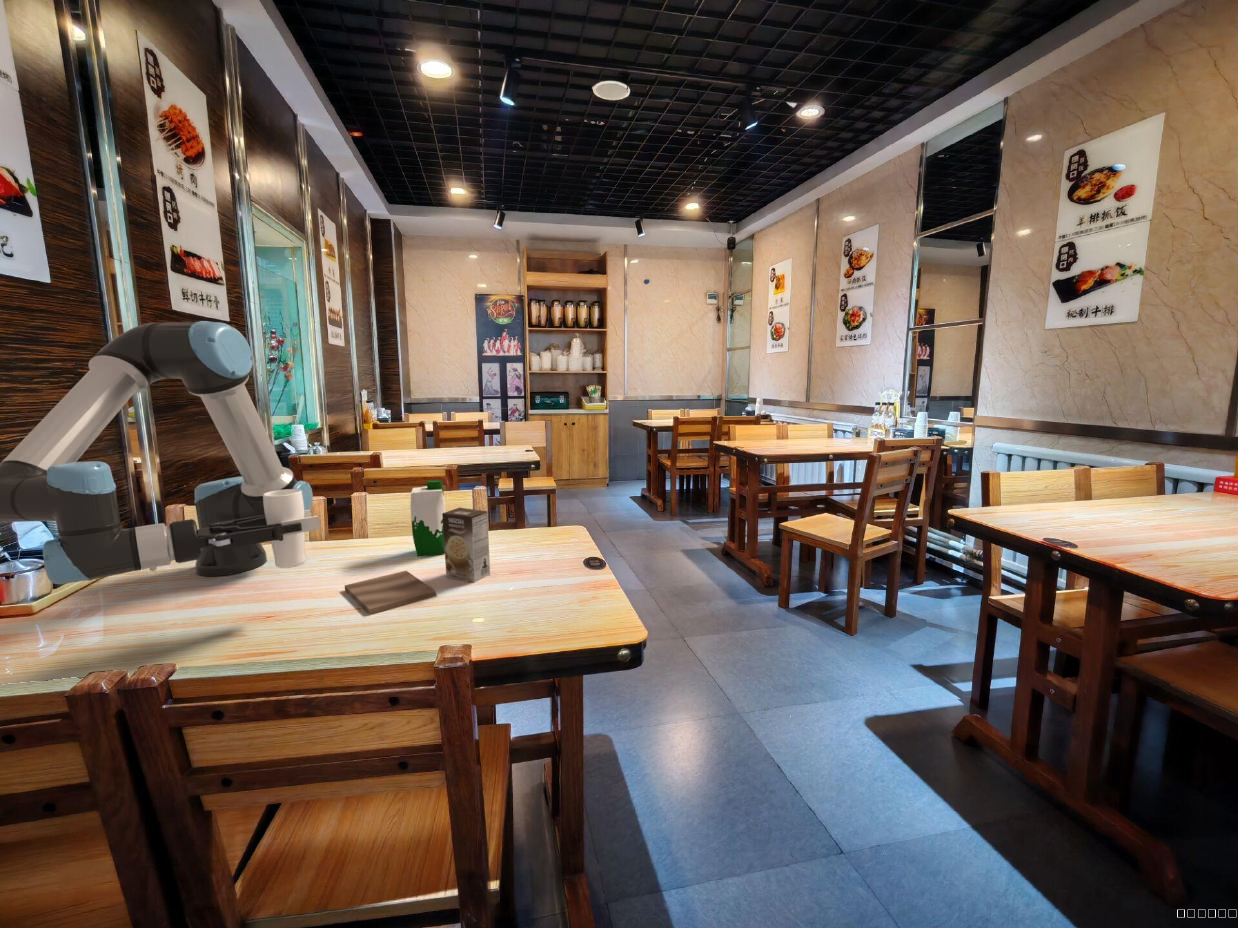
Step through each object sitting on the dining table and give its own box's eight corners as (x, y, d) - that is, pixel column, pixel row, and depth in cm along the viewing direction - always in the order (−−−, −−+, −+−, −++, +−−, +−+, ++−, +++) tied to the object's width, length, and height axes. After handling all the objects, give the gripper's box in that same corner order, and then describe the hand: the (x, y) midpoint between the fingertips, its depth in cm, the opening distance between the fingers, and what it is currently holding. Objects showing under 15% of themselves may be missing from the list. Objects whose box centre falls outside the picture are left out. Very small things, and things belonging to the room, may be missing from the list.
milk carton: (448, 554, 148) (443, 483, 145) (413, 558, 145) (407, 485, 142) (448, 545, 156) (443, 477, 153) (415, 549, 154) (409, 479, 151)
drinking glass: (292, 571, 106) (283, 496, 103) (263, 569, 107) (253, 495, 105) (318, 559, 112) (310, 489, 110) (290, 558, 113) (281, 488, 111)
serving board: (345, 590, 124) (344, 585, 123) (406, 575, 133) (406, 570, 132) (369, 614, 110) (369, 609, 110) (436, 595, 119) (436, 590, 119)
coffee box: (444, 577, 131) (440, 512, 128) (462, 569, 136) (458, 507, 134) (474, 582, 127) (470, 516, 124) (492, 573, 133) (488, 510, 130)
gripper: (171, 551, 104) (306, 527, 119) (176, 577, 90) (328, 547, 105) (165, 513, 103) (302, 494, 118) (169, 534, 89) (324, 509, 104)
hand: (314, 519), depth 111 cm, fingers closed on drinking glass, 6 cm apart
